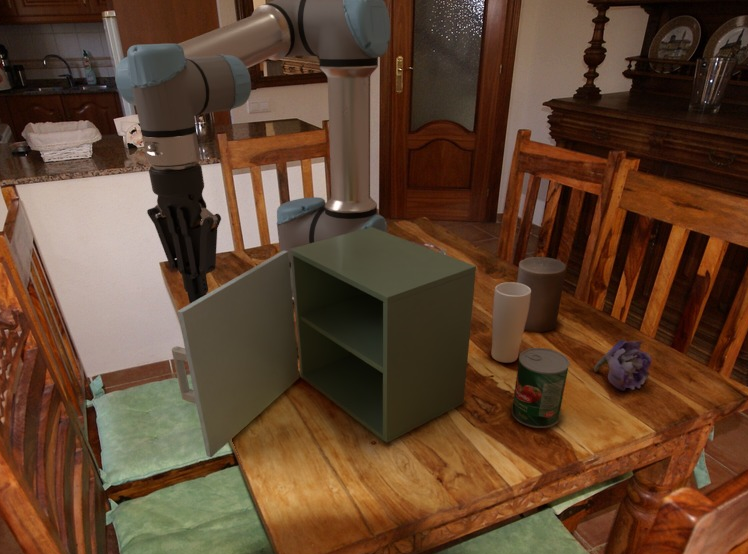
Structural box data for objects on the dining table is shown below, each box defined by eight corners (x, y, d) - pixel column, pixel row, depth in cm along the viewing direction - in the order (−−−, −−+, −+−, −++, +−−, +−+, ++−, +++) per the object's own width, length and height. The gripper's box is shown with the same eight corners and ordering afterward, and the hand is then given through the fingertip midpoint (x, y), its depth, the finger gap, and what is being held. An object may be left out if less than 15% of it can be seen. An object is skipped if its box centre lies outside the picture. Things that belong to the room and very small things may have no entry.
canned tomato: (567, 414, 99) (579, 359, 93) (543, 434, 94) (553, 378, 89) (527, 395, 104) (535, 343, 98) (502, 414, 99) (509, 359, 94)
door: (181, 446, 94) (149, 303, 81) (272, 370, 113) (258, 246, 100) (211, 457, 91) (182, 312, 78) (299, 378, 111) (288, 251, 98)
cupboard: (386, 443, 93) (387, 297, 80) (300, 376, 111) (289, 248, 98) (463, 403, 102) (476, 266, 89) (372, 347, 120) (371, 226, 107)
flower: (578, 345, 106) (636, 336, 99) (594, 346, 112) (650, 338, 106) (585, 395, 105) (644, 389, 98) (601, 393, 111) (657, 388, 105)
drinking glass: (522, 367, 112) (533, 297, 105) (487, 364, 113) (494, 295, 106) (520, 350, 118) (530, 282, 110) (487, 347, 119) (494, 280, 112)
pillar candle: (566, 326, 126) (577, 262, 119) (531, 336, 123) (541, 270, 115) (535, 309, 134) (545, 247, 126) (502, 318, 131) (509, 255, 123)
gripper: (122, 166, 84) (154, 312, 96) (191, 173, 78) (216, 327, 90) (160, 156, 89) (185, 295, 101) (226, 162, 84) (245, 308, 96)
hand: (200, 310), depth 96 cm, fingers closed
